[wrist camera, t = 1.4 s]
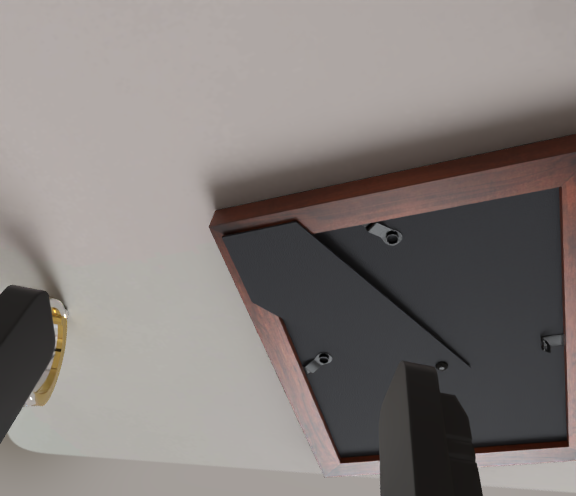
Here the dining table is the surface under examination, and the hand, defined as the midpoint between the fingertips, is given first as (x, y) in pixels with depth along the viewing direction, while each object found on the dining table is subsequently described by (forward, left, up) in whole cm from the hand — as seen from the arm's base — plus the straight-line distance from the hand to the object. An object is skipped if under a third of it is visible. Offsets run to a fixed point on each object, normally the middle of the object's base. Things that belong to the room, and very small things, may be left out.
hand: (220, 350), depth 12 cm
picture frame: (+15, -11, -18) cm, 26 cm away
